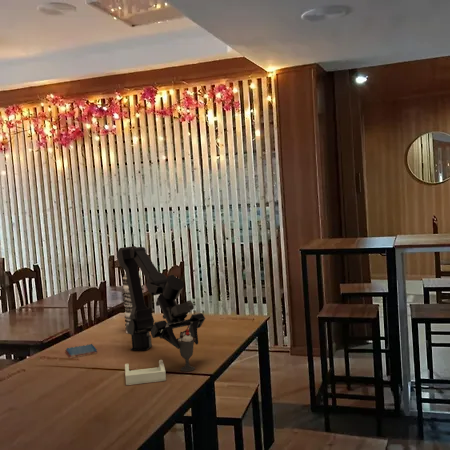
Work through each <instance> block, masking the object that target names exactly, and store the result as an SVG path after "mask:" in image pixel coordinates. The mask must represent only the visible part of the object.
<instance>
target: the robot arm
mask: <svg viewBox="0 0 450 450" xmlns="http://www.w3.org/2000/svg"><path fill="white" fill-rule="evenodd" d="M116 259H117V261H118V263H119V266H120V267H121V268H122V269H123V270H124V271H125V274H126V277H127V282H128V287H129V292H130V297H131V302H132V311H131V314H130V322H129V324H128V327H127V330H126V331H127V332H128V335H130V336H131V348H130V351H148V350H149V349H150V348H152V347H153V344H152V338H153V339H155V338H159V339H163V340H165V341H166V342H168V343H169V344H171V345H172V346H173V347H175V348H176V349H177V350H180V349H179V348H180V345H179V343H178V341H177V337H176V335H175V334H174V329H179V328H183V327H188V325H189V326H190V327H189V328H188V330H189V332H190V333H191V336H192V337H193V338H196V340H195V341H194V344H195V345H198V344H199V338H198V335H199V334H198V329H199V328H201V327H202V325H203V324H204V321H205V319H206V317H205V315H204V314H203V313H202V312H199V313H193V314H191V315H190V318H189V319H186V318H187V317H188V313H191V311H192V310H194V309H195V306H194V304H193V302H192V300H186V301H184V303H177V301H176V300H177V299H178V298H179V296H180V294H181V292H182V291H183V289H184V286H185V284H184V281H183V280H182V279H181V278H179V277H176V276H175V275H174V274H170V275H168V276H166V275H165V273H162V272H161V271H158V269H157V268H156V265H155V264H154V262H153V261H152V260H151V258H150V256H149V255H148V253H147V249H146V247H144V246H138V247H137V246H135V245H134V246H127V247H125V246H124V247H119V248H118V250H117V251H116ZM139 270H140V271H141V272H142V274H143V276H144V278H145V280H146V288H147V289H146V290H147V291H148V293H149V294H150V295H151V296H157V295H158V297H157V298H156V303H155V306H157V307H158V306H159V307H160V310H161V312H162V314H163V315H162V319H163V320H159V321H155V320H154V316H153V311H152V309H151V308H150V307H147V305H146V303H145V297H144V294H143V293H144V292H143V290H142V288H143V287H141V283H142V281H141V282H140V277H139V275H140V273H139Z"/></svg>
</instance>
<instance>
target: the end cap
mask: <svg viewBox="0 0 450 450" xmlns="http://www.w3.org/2000/svg"><path fill="white" fill-rule="evenodd" d="M158 364H159V365H158V367H151V368H150V367H149V368H141V369H132V370H130V367H129V366H130V365H129V363H124V374H125V385H126V386H131V385H132V386H133V385H141V384H148V383H157V382H165V381H167V376H166V368H165V364H164V362H163V359H159V360H158Z"/></svg>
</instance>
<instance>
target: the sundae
mask: <svg viewBox="0 0 450 450" xmlns="http://www.w3.org/2000/svg"><path fill="white" fill-rule="evenodd" d="M186 327H187V328H186V329H185V330H183V331H180V333H179V337H176V339H177V341H178V343H179V345H180V348H179V349H178V350H179V353H180V357H182V358H183V360H185V365H184V366H182V367H180V368H179V370H180V371H182V372H192V371H195V370H196V368H195V366H191V365H190V358H191V357H192V356H193V354H194V344H195V342H194V341H195V340H196V338H193V337H192V336H191V333H190V332H189V327H190V326H189V325H188V326H186Z"/></svg>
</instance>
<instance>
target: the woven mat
mask: <svg viewBox="0 0 450 450" xmlns="http://www.w3.org/2000/svg"><path fill="white" fill-rule="evenodd" d="M64 351H65V353H66V354H67V357H68V358H70V359H72V358H79V357H84V356H91V354H92V356H93V354H94V355H96V354H97V353H98V349H97V348H96V347H95V346H94V344H92V343H91V344H85V345H79V346H74V347H73V346H71V347H67V348H65V350H64Z"/></svg>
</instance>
